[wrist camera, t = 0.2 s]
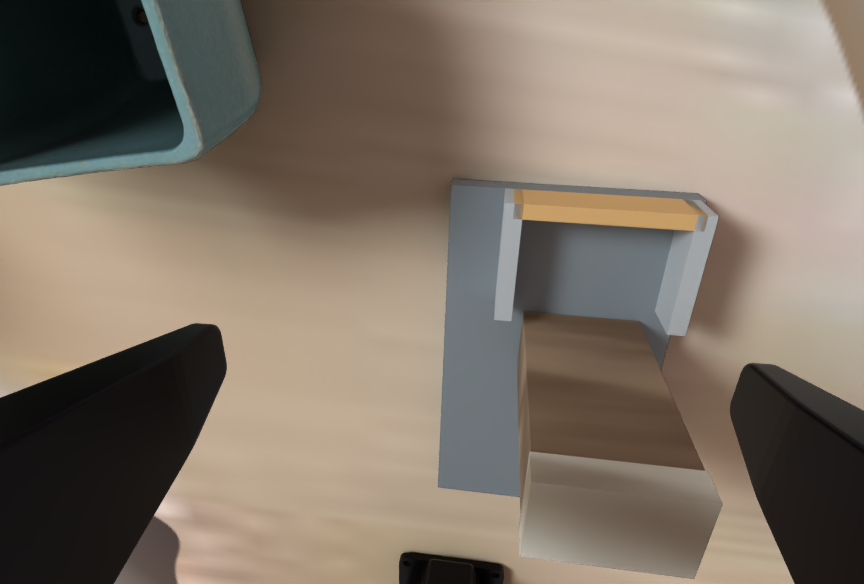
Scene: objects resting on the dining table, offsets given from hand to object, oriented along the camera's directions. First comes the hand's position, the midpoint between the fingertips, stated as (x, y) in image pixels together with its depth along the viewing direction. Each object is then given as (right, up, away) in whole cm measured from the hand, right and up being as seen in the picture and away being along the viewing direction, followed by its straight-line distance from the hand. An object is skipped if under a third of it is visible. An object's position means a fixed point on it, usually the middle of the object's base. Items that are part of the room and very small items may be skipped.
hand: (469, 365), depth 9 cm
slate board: (+5, -2, +17) cm, 18 cm away
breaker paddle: (+6, -1, +15) cm, 16 cm away
